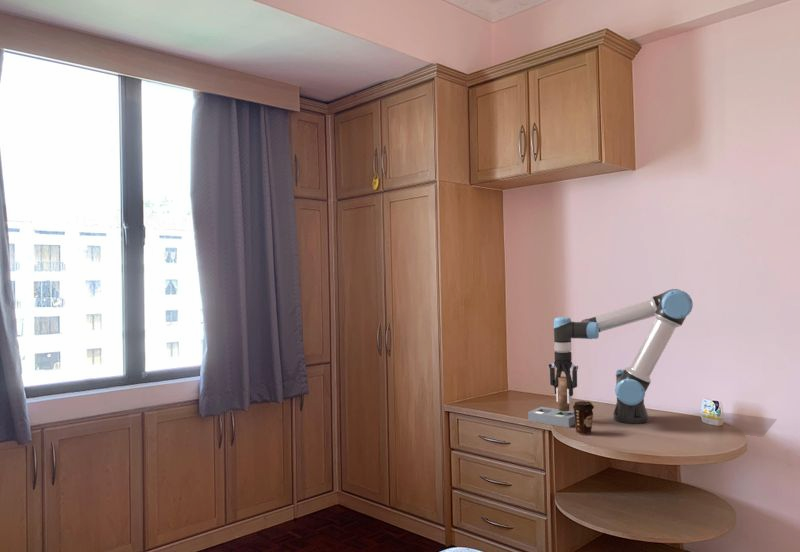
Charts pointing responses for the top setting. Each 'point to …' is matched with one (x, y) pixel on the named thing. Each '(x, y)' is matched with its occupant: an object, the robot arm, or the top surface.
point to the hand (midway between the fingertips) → (563, 401)
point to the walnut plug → (563, 394)
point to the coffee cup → (583, 417)
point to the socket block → (552, 416)
